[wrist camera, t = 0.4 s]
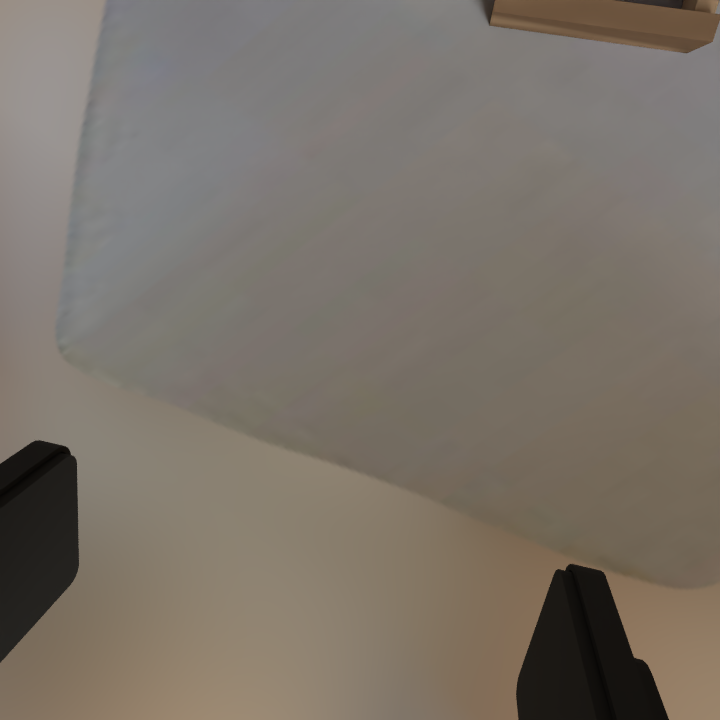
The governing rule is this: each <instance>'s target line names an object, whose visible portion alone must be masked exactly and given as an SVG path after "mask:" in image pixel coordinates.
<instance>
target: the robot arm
mask: <svg viewBox="0 0 720 720" xmlns="http://www.w3.org/2000/svg"><path fill="white" fill-rule="evenodd" d="M78 566H79V549H78V498H77V462H76V459H75V457H74V456H72V455H71V453H70V451H69V449H68V448H67V447H66V446H62V445H57V444H53V443H49V442H44V441H40V440H39V441H34V442H32V443H30V444H29V445H27V446H26V447H24V448H23V449H22V450H20V451H19V452H17V453H16V454H14V455H13V456H11V457H10V458H8V459H7V460H5V461H4V462H2V463H1V464H0V662H1V661H2V660H3V659H4V658H5V657H6V656H7V655H8V653H9V652H10V651H11V650H12V649H13V648H14V647H15V646H16V645H17V643H18V642H19V641H20V640H21V639H22V638H23V637H24V635H26V634H27V632H28V631H29V630H30V629H31V628H32V627H33V626H34V625H35V624H36V622H37V621H38V620H39V619H40V618H41V617H42V616H43V615H44V614H45V612H46V611H47V610H48V609H49V608H50V607H51V606H52V605H53V604H54V602H55V601H56V600H57V599H58V598H59V597H60V596H61V595H62V593H64V591H65V590H66V589H67V588H68V587H69V586H70V585H71V583H72V582H73V580H74V578H75V577H76V574H77V571H78ZM516 695H517V696H516V697H517V708H518V718H519V720H669V719H668V716H667V713H666V711H665V708H664V706H663V703H662V700H661V697H660V694H659V692H658V689H657V686H656V684H655V681H654V678H653V676H652V673H651V671H650V669H649V667H648V665H647V664H646V663H645V662H644V661H643V660H640V659H636V658H634V657H633V654H632V651H631V648H630V645H629V642H628V639H627V637H626V634H625V631H624V628H623V625H622V622H621V619H620V616H619V613H618V611H617V608H616V605H615V602H614V599H613V596H612V593H611V590H610V587H609V585H608V582H607V579H606V576H605V574H604V572H602V571H600V570H596V569H591V568H587V567H583V566H579V565H574V564H570V565H568V566H567V567H566V570H565V571H564V570H559V569H558V570H556V571H555V574H554V576H553V579H552V582H551V584H550V587H549V590H548V593H547V596H546V599H545V602H544V605H543V607H542V611H541V613H540V616H539V619H538V622H537V625H536V628H535V630H534V633H533V636H532V639H531V642H530V645H529V648H528V651H527V654H526V656H525V659H524V662H523V665H522V668H521V671H520V674H519V677H518V682H517V691H516Z"/></svg>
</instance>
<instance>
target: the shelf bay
mask: <svg viewBox="0 0 720 720" xmlns="http://www.w3.org/2000/svg"><path fill="white" fill-rule="evenodd" d="M718 2H719V0H684V1H683V4H682V7H681V9H676V8H668V7H661V6H653V5H646V4H638V3H631V2H623V1H616V0H495V1H494V6H493V11H492V16H491V21H490V26H497V27H504V28H511V29H518V30H525V31H532V32H540V33H547V34H554V35H561V36H568V37H575V38H582V39H589V40H597V41H604V42H611V43H618V44H625V45H632V46H639V47H647V48H654V49H661V50H668V51H675V52H682V53H688V52H691V51H693V50H695V49H697V48H700V47H702V46H704V45H706V44H709V43H711V42H713V39H714V36H715V33H716V30H717V26H718V23H719V20H720V14H715V12H716V8H717V5H718Z"/></svg>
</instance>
